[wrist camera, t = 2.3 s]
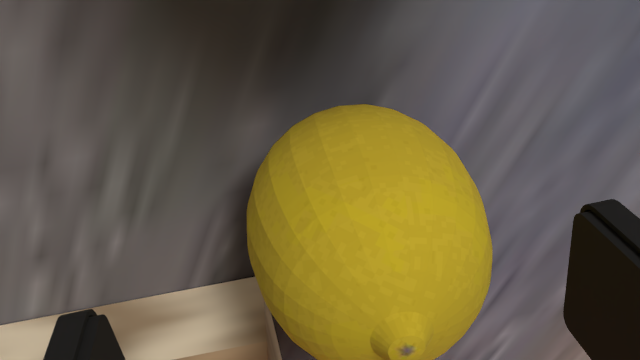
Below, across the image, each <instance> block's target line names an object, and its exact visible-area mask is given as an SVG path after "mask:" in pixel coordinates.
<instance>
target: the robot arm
mask: <svg viewBox="0 0 640 360" xmlns="http://www.w3.org/2000/svg"><path fill="white" fill-rule="evenodd" d="M563 312H564V320H565V323H566V325H567V328H568V329H569V331H570V332H571V334H572V335H573V336H574V337H575V339H576V340H577V341H578V343H579V344H580V345H581V347H582V348H583V349H584V350H585V352H586V353H587V354H588V356H589V357H590V358H591V360H640V219H639V218H638V217H637V216H636V215H634V214H633V213H632V212H631V211H629V210H628V209H627V208H626V207H625V206H623V205H622V204H621V203H620V202H618V201H616V200H613V199H610V200H605V201H601V202H596V203H591V204H586V205H584V206H583V207H582V208H581V211H580V213H579V214H576V215H575V217H574V221H573V229H572V239H571V248H570V257H569V266H568V275H567V284H566V293H565V302H564V311H563ZM43 360H125V357H124V355H123V353H122V350H121V348H120V346H119V343H118V341H117V339H116V337H115V334H114V332H113V330H112V327H111V325H110V323H109V320H108V318H107V317H106V316H105V315H104V314H102V315H97V314H96V312H95V311H94V310H93V309H88V310H83V311H78V312H74V313H69V314H64V315H61V316H59V317H58V319H57V321H56V324H55V327H54V330H53V333H52V335H51V338H50V341H49V344H48V347H47V350H46V353H45V355H44V358H43Z"/></svg>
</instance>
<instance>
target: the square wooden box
mask: <svg viewBox="0 0 640 360" xmlns="http://www.w3.org/2000/svg"><path fill="white" fill-rule="evenodd" d="M89 309H93V310H94V311H95V312H96V314H97V315H102V314H104V315H105V316H106V317H107V318H108V320H109V323H110V325H111V327H112V330H113V332H114V334H115V337H116V339H117V341H118V343H119V346H120V348H121V350H122V353H123V355H124V357H125V360H282V357H281V353H280V349H279V344H278V340H277V336H276V332H275V328H274V323H273V319H272V315H271V312H270V310H269V308H268V307H267V305H266V303H265V301H264V298H263V296H262V294H261V291H260V288H259V285H258V282H257V279H256V277H250V278H245V279H240V280H235V281H230V282H224V283H219V284H214V285H209V286H204V287H198V288H193V289H188V290H183V291H177V292H172V293H167V294H162V295H157V296H151V297H146V298H141V299H136V300H131V301H125V302H120V303H115V304H110V305H104V306H99V307H94V308H89ZM84 310H88V309H84ZM78 311H83V310H78ZM78 311H73V312H68V313H63V314H58V315H52V316H47V317H42V318H37V319H32V320H26V321H21V322H16V323H11V324H5V325H0V360H43V358H44V355H45V353H46V350H47V347H48V344H49V341H50V338H51V335H52V333H53V330H54V327H55V324H56V321H57V319H58V317H59V316H61V315H64V314H69V313H74V312H78Z"/></svg>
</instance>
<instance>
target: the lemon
mask: <svg viewBox="0 0 640 360" xmlns="http://www.w3.org/2000/svg"><path fill="white" fill-rule="evenodd" d="M247 245H248V253H249V258H250V262H251V265H252V268H253V271H254V274H255V277H256V279H257V282H258V285H259V288H260V291H261V294H262V296H263V298H264V301H265V303H266V305H267V307H268V308H269V310H270V312H271V313H272V315H273V316H274V318H275V319H276V320H277V322H278V323H279V324H280V326H281V327H282V328H283V330H284V331H285V333H286V334H287V335H288V336H289V337H290V339H291V340H292V341H293V342H294V343H296V344H297V345H298V346H300V347H301V348H302V349H304V350H305V351H306V352H308V353H309V354H311V355H312V356H313V357H315V358H316V359H317V360H434V359H435V358H437V357H439V356H440V355H442V354H444V353H445V352H446V351H447V350H448V349H449V348H451V347H452V346H453V345H454V344H455V343H456V342H457V341H458V340H459V339H460V338H461V337H463V335H464V334H465V333H466V331H467V330H468V329H469V327H470V326H471V324H472V323H473V322H474V320H475V319H476V317H477V315H478V314H479V312H480V310H481V307H482V305H483V302H484V300H485V297H486V295H487V292H488V288H489V285H490V279H491V268H492V242H491V236H490V232H489V227H488V223H487V218H486V214H485V210H484V206H483V202H482V200H481V197H480V194H479V192H478V190H477V188H476V185H475V184H474V182H473V180H472V179H471V177H470V175H469V174H468V172H467V170H466V169H465V167H464V165H463V164H462V162H461V160H460V159H459V157H458V156H457V154H456V153H455V152H454V151H453V150H452V148H451V147H450V146H448V145H447V144H446V143H445V142H444V141H443V140H442V139H440V138H439V137H438V136H437V135H436V134H435V133H434V132H432V131H431V130H430V129H429V128H428V127H427V126H425V125H424V124H422V123H421V122H419V121H417V120H415V119H413V118H411V117H408V116H406V115H404V114H402V113H400V112H398V111H396V110H393V109H389V108H384V107H378V106H373V105H367V104H359V105H345V106H336V107H333V108H330V109H327V110H323V111H320V112H317V113H314V114H312V115H311V116H309V117H307V118H306V119H304V120H302V121H300V122H299V123H297V124H295V125H294V126H292V127H291V128H290V129H289V130H288V131H287V132H286V133H285V134H284V135H283V136H282V137H281V138H280V139H279V140H278V141H277V142H276V143H275V144H274V145H273V146H272V148H271V149H270V151H269V153H268V154H267V156H266V157H265V159H264V161H263V162H262V164H261V166H260V167H259V169H258V171H257V174H256V177H255V180H254V184H253V187H252V191H251V194H250V198H249V201H248V206H247Z"/></svg>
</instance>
